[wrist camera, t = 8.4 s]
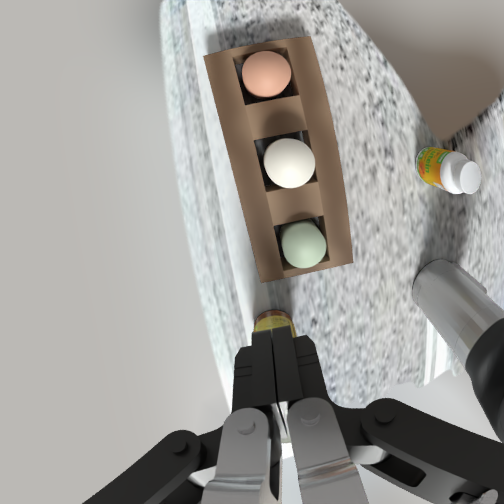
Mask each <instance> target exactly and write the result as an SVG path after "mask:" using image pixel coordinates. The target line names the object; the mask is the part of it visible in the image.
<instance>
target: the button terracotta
mask: <svg viewBox="0 0 504 504" xmlns="http://www.w3.org/2000/svg"><path fill="white" fill-rule="evenodd" d="M242 76H243V83H244V87H245V89H246V90H247V92H248V93H249V94H250V95H251V96H253V97H255V98H257V99H261V100H268V99H273V98H275V97H277V96H278V95H279V94H281V92H282V91H283V90H284V89H285V87H286V86H287V85H288V83H289V81H290V78H291V68H290V66H289V64H288V62H287V61H286V59H285V58H284V57H282V56H281V55H279V54H277V53H275V52H271V51H261V52H257V53H255V54H253V55H251V56H250V57H249V58H248V59H247V60H246V61H245V63H244V65H243V68H242Z"/></svg>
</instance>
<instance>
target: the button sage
mask: <svg viewBox="0 0 504 504" xmlns="http://www.w3.org/2000/svg"><path fill="white" fill-rule="evenodd" d="M280 240H281V244H282V248H283V252H284V255H285V258H286V259H287V261H288V262H289V263H290V264H291V265H293V266H295V267H298V268H309V267H312V266H314V265H316V264H317V263H319V262H320V261H321V259H322V258H323V257H324V255H325V252H326V241H325V239H324V237H323V235H322V234H321V232H320V231H319V229H318V228H317V226H316V225H315V223H314V222H313V221H312V220H311V219H309V218H308V219H303V220H298V221H294V222H289V223H284V224H283V225H282V227H281V229H280Z"/></svg>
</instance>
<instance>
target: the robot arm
mask: <svg viewBox="0 0 504 504" xmlns="http://www.w3.org/2000/svg"><path fill="white" fill-rule="evenodd" d="M486 293H487V290H486V288H485V287H484V286H483V285H482V284H480V283H479V282H478V281H477V280H476V279H475V278H473V277H472V276H471V275H470V274H469V273H467V272H466V271H465V270H464V269H463V268H461V267H460V266H459V265H458V264H457V263H455V262H453V263H450V262H448V261H447V260H443V259H438V260H435V261H433V262H431V263H429V264H428V265H426V266H425V267H424V268H423V269H422V270H421V271H420V273H419V274H418V276H417V278H416V279H415V282H414V285H413V289H412V296H413V300H414V301H415V303H416V304H417V305H418V307H419V308H420V309H421V310H422V312H423V313H424V314H425V316H426V317H427V318H428V319H429V321H430V322H431V323H432V324H433V326H434V327H435V328H436V330H437V331H438V332H439V334H440V335H441V336H442V338H443V339H444V340H445V342H446V343H447V344H448V346H449V347H450V348H451V350H452V351H453V353H454V354H455V355H456V357H457V358H458V359H459V361H460V362H461V364H462V365H463V367H464V368H465V370H466V371H467V373H468V374H469V376H470V378H471V381H472V385H473V389H474V392H475V395H476V397H477V399H478V401H479V403H480V405H481V407H482V408H483V410H484V412H485V414H486V416H487V418H488V420H489V422H490V424H491V426H492V428H493V430H494V431H495V433H496V435H497V436H498V438H499V439H500V441H501V442H502V443H500V442H497V441H495V440H492V439H489V438H486V437H483V436H481V435H478V434H476V433H473V432H470V431H468V430H465V429H463V428H460V427H458V426H455V425H452V424H450V423H448V422H445V421H443V420H441V419H438V418H436V417H433V416H431V415H429V414H427V413H424V412H422V411H420V410H417V409H415V408H413V407H411V406H408V405H406V404H404V403H402V402H400V401H398V400H395V399H391V398H382V399H378V400H375V401H373V402H371V403H370V404H369V405H368V406H367V407H366V408H360V409H358V408H356V409H354V408H353V409H351V408H344V407H341V406H338V405H336V404H335V403H334V402H332V401H331V399H330V398H329V396H328V394H327V390H326V386H325V382H324V378H323V374H322V370H321V366H320V363H319V359H318V355H317V351H316V347H315V344H314V342H313V341H312V340H311V339H310V338H309V337H308V336H307V335H303V336H299V337H294V338H293V335H292V330H291V326H290V325H287V326H282V327H277V328H272V331H271V329H267V330H262V331H257V332H252V346H247V347H241V348H240V350H239V352H238V353H237V355H236V357H235V365H234V369H235V370H234V382H233V400H232V412H231V414H230V415H229V416H228V418H227V419H226V420H225V422H224V425H223V426H221V427H220V428H218V429H216V430H214V431H211V432H208V433H205V434H202V435H199V436H197V435H196V434H194V433H192V432H191V431H187V430H178V431H174V432H172V433H170V434H168V435H167V436H166V437H165V438H164V439H162V440H161V441H160V442H159V443H158V444H157V445H155V446H154V447H153V448H152V449H151V450H150V451H148V452H147V453H146V454H145V455H144V456H143V457H141V458H140V459H139V460H138V461H137V462H135V463H134V464H133V465H132V466H131V467H129V468H128V469H127V470H126V471H125V472H123V473H122V474H121V475H120V476H118V477H117V478H116V479H114V480H113V481H112V482H110V483H109V484H108V485H107V486H105V487H104V488H103V489H101V490H100V491H99V492H97V493H96V494H95V495H93V496H92V497H91V498H89V499H88V500H86V501H85V502H84V503H82V504H282V502H281V501H282V500H281V496H282V447H281V439H284V438H288V436H287V431H288V434H289V437H290V438H291V443H292V448H293V453H294V457H295V462H296V467H297V472H298V481H299V487H300V492H301V497H302V502H303V504H369V502H368V499H367V496H366V493H365V491H364V487H363V484H362V481H361V478H360V475H359V473H358V470H357V468H356V465H355V464H360V465H361V466H362V467H364V468H366V469H367V470H369V471H371V472H373V473H374V474H376V475H378V476H380V477H382V478H383V479H385V480H387V481H389V482H391V483H392V484H395V485H396V486H398V487H400V488H402V489H404V490H406V491H408V492H410V493H412V494H414V495H416V496H419V497H421V498H423V499H425V500H427V501H429V502H431V503H434V504H504V311H503V310H502V309H501V308H500V307H499V306H498V305H497V304H496V303H495V302H494V301H493V300H492V299H491V298H490V297H489V296H488V295H486Z"/></svg>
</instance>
